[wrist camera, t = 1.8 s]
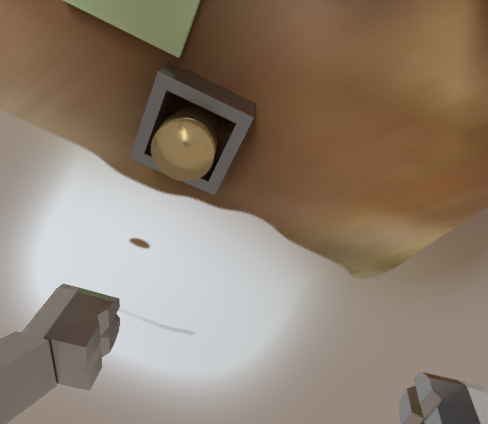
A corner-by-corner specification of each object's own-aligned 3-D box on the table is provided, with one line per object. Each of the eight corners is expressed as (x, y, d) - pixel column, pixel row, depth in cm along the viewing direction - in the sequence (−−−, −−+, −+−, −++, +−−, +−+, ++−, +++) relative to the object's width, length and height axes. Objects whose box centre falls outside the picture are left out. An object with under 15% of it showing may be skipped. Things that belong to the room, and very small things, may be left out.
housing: (140, 142, 44) (128, 158, 40) (168, 60, 39) (157, 71, 35) (219, 176, 46) (214, 195, 42) (255, 103, 41) (254, 117, 37)
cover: (162, 134, 43) (143, 165, 37) (180, 87, 40) (162, 111, 33) (210, 156, 44) (199, 190, 38) (231, 111, 41) (223, 140, 35)
